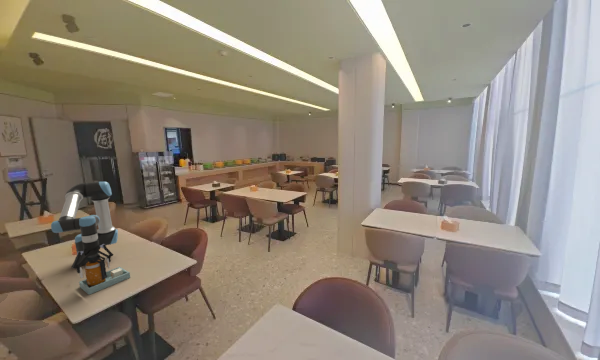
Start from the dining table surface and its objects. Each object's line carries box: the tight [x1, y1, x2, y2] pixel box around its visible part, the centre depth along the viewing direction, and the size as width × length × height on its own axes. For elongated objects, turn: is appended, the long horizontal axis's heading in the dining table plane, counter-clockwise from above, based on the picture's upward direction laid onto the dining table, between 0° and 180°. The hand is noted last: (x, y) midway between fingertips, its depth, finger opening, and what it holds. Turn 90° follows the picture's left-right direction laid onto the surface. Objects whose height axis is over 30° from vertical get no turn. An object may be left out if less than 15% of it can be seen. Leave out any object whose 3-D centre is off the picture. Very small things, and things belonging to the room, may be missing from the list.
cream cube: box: [111, 268, 123, 279], centre depth 159 cm, size 5×5×5 cm
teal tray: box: [78, 266, 131, 296], centre depth 154 cm, size 16×22×4 cm
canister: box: [84, 254, 108, 288], centre depth 150 cm, size 9×11×20 cm
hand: (95, 272), depth 149 cm, fingers open, 13 cm apart
